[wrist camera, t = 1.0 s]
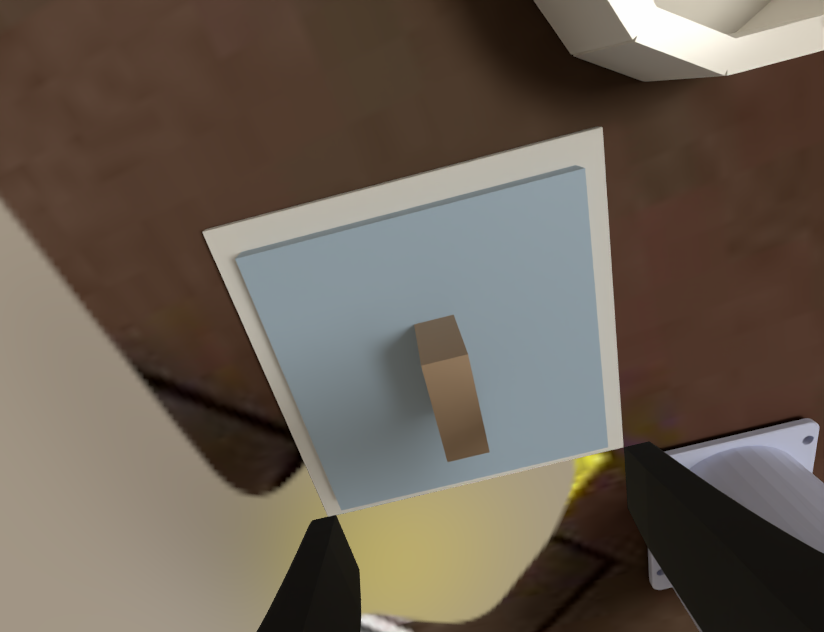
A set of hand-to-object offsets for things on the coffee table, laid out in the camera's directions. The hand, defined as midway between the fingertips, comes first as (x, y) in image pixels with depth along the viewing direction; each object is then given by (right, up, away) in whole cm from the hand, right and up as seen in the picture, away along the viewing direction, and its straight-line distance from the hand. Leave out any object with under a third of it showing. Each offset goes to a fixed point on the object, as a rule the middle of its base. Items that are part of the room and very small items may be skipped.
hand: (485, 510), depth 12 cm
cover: (-1, +3, +7) cm, 8 cm away
